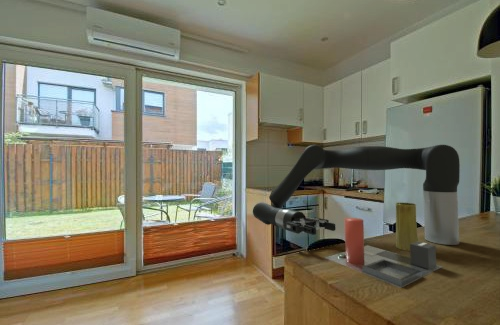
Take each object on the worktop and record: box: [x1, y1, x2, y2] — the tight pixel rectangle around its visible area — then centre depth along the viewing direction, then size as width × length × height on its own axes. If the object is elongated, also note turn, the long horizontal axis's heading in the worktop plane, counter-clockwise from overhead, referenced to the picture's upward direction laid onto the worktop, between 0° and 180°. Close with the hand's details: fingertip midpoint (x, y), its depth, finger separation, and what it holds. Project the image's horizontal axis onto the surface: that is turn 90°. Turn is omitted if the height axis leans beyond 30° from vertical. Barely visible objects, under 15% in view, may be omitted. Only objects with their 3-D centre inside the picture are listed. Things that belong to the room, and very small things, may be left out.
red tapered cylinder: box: [344, 217, 365, 264], centre depth 63 cm, size 5×5×11 cm
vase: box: [395, 202, 419, 252], centre depth 74 cm, size 6×6×14 cm
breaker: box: [409, 241, 437, 269], centre depth 60 cm, size 4×4×5 cm
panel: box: [324, 244, 443, 289], centre depth 62 cm, size 20×20×2 cm
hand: (325, 229), depth 72 cm, fingers open, 8 cm apart
